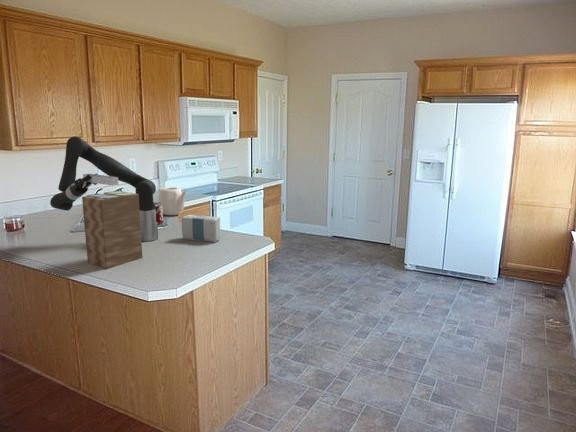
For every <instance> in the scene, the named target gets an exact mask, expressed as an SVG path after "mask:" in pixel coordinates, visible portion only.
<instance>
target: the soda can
mask: <svg viewBox="0 0 576 432" xmlns="http://www.w3.org/2000/svg"><path fill="white" fill-rule="evenodd" d="M155 211H156V222H157V223H158V225H161V224H163V223H164V213H163V208H162V206H161V205H160V203H159V204H158V203H157V204H155Z"/></svg>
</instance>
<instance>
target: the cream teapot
mask: <svg viewBox="0 0 576 432" xmlns="http://www.w3.org/2000/svg"><path fill="white" fill-rule="evenodd" d="M187 191H188V190H187V189H185V190H183V191H182V189H181V188H180V187H178V186H177V187H176V186H174V187H173V186H171V187H170V186H169V187H167V186H166V187H163V188H162V189H161V190H160V191H159V196H158V200H159V204H160V205H161V206H162V208H163V216H177V215H181V214H182V211H183V210H184V209H185V198H186V193H187Z"/></svg>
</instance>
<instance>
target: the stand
mask: <svg viewBox="0 0 576 432" xmlns="http://www.w3.org/2000/svg"><path fill="white" fill-rule="evenodd" d="M81 201H82V211H83V223H84V224H83V225H84V234H85V246H86V247H85V248H86V256H87V258H86V259H87V264H88V265H92V266H95V267H98V268H99V267H100V268H103V269H106V270H109V269H111V268H115V267H118V266H120V265H124V264H127V263H130V262H134V261H136V260H140V259H143V244H142V243H143V241H141V225H140V209H139V194H136V192H134V193H133V192H127V191H126V192H125V191H119V190H118V191H116V190H114V191H113V190H112V191H107V192H103V193H93V194H87V195H86V196H81Z"/></svg>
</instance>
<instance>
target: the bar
mask: <svg viewBox="0 0 576 432" xmlns="http://www.w3.org/2000/svg"><path fill="white" fill-rule="evenodd" d="M88 174H90V176H91V179H90V180H88V181H87V182H91V183H97V185H106V186H118V185H119V184H120V183H119V180H118V177H112V176H108V175H102V174H98V175H95V174H96V173H95V174H93V173H84V174H82V178H83V177H86V176H87V175H88Z"/></svg>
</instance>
